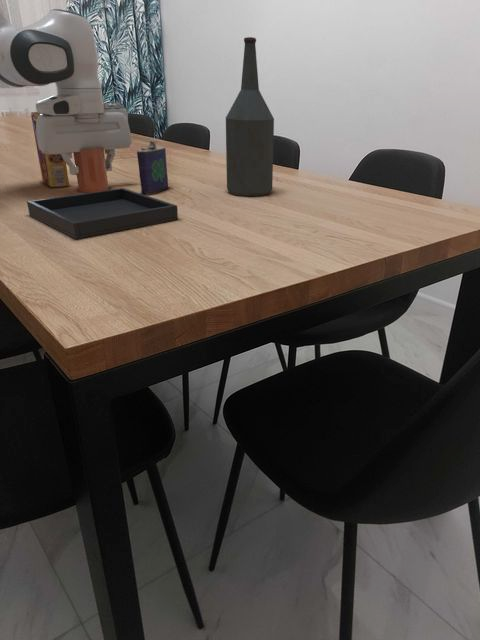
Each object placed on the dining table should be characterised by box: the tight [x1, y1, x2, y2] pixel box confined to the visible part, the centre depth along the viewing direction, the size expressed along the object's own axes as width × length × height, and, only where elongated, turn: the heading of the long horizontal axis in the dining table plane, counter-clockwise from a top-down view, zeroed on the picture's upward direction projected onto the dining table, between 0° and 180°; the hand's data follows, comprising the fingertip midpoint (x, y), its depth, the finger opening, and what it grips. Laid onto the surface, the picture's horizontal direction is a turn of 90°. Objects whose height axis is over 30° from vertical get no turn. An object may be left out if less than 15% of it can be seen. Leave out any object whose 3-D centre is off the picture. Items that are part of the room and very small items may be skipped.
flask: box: [136, 139, 169, 196], centre depth 111 cm, size 9×3×11 cm, turn 157°
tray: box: [26, 187, 179, 240], centre depth 92 cm, size 20×20×3 cm
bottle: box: [225, 36, 275, 197], centre depth 107 cm, size 10×10×30 cm
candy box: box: [30, 111, 70, 188], centre depth 115 cm, size 9×4×15 cm, turn 35°
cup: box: [72, 147, 109, 193], centre depth 112 cm, size 6×6×9 cm
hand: (91, 172), depth 112 cm, fingers closed on cup, 6 cm apart
